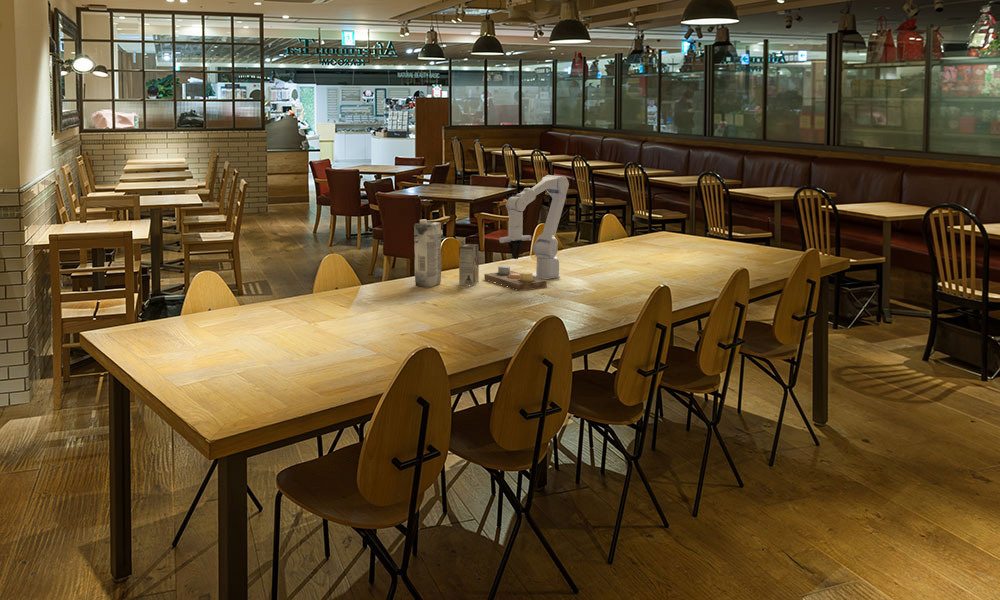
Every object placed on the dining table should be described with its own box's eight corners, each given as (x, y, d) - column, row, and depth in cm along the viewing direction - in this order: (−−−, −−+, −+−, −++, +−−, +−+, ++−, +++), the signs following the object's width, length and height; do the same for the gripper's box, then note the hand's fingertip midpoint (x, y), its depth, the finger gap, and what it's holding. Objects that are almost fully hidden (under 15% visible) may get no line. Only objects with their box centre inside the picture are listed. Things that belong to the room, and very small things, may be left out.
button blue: (505, 273, 378) (505, 265, 377) (512, 275, 374) (512, 267, 373) (495, 274, 375) (496, 266, 374) (502, 276, 371) (502, 268, 370)
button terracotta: (516, 280, 371) (516, 273, 370) (523, 282, 367) (523, 275, 366) (506, 281, 369) (506, 274, 368) (513, 283, 364) (513, 276, 364)
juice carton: (443, 283, 366) (443, 218, 360) (431, 288, 356) (430, 221, 351) (425, 281, 369) (424, 217, 364) (412, 286, 360) (411, 220, 354)
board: (511, 276, 382) (512, 270, 382) (546, 286, 361) (546, 280, 360) (484, 279, 375) (484, 273, 374) (518, 290, 354) (518, 284, 353)
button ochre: (528, 279, 364) (528, 272, 363) (535, 281, 360) (535, 273, 359) (518, 281, 361) (518, 273, 360) (524, 283, 357) (525, 275, 356)
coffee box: (464, 281, 371) (464, 243, 368) (478, 281, 370) (479, 244, 367) (458, 285, 363) (458, 246, 359) (474, 286, 361) (474, 247, 358)
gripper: (524, 223, 370) (524, 255, 373) (495, 226, 362) (495, 258, 365) (534, 225, 364) (533, 258, 367) (504, 228, 356) (504, 261, 359)
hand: (515, 258), depth 366 cm, fingers closed
